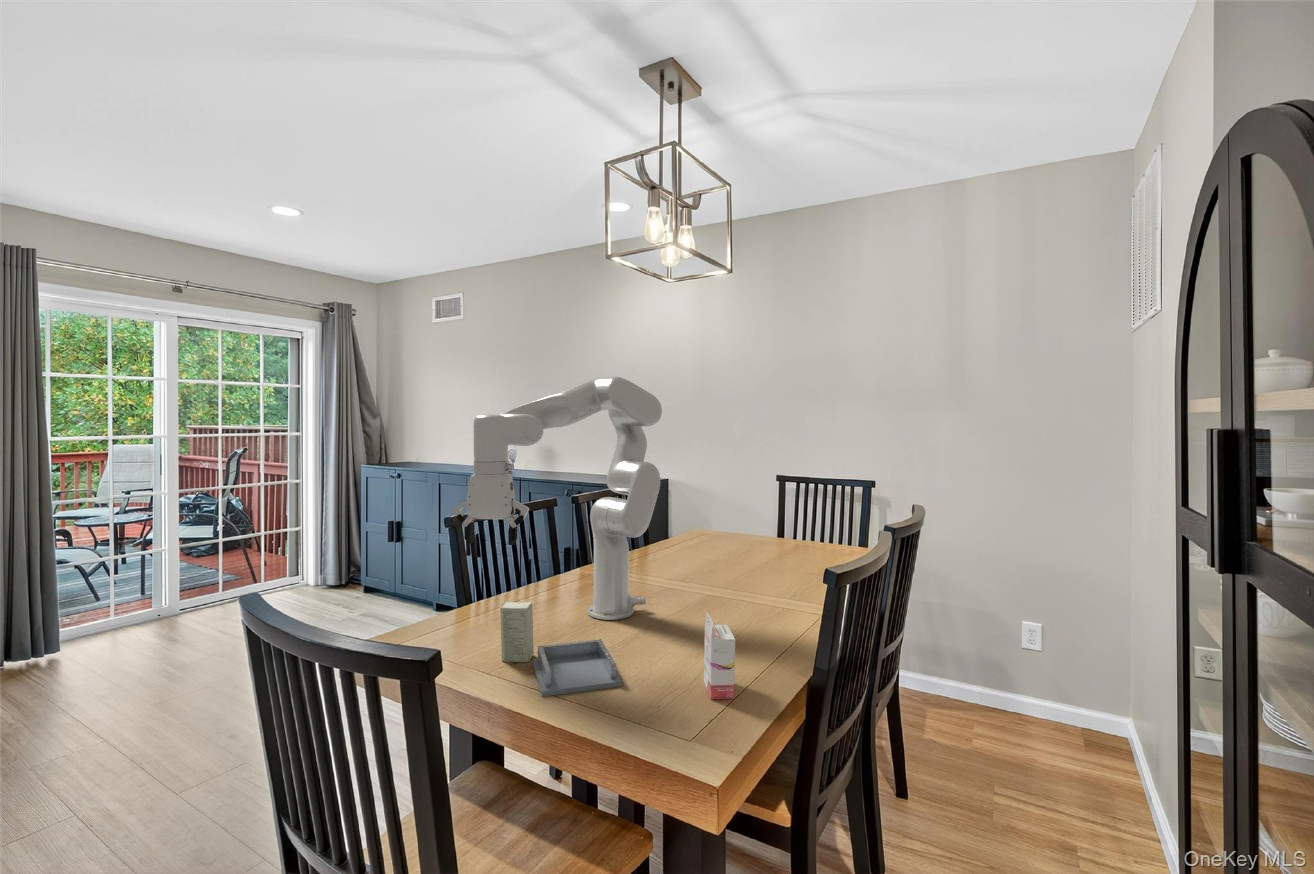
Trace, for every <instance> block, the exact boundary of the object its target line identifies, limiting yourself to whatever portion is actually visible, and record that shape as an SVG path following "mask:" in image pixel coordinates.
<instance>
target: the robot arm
mask: <svg viewBox="0 0 1314 874" xmlns="http://www.w3.org/2000/svg"><path fill="white" fill-rule="evenodd" d="M606 410H607V412H608V416H609V420H610V421H611V422H612V424H613V427H614V430H615V432H616V444H615V445H616V446H615V449H614V453H613V456H612V459H611V461H610V466H609V469H608V472H607V475H606V485H607V488H608V489H609V490H610V491H612V492H613V493H617V494H620V495H625V496H627V499H625V498H619V497H613V496H604V497H601V498H598V500H596V501H595V502H594V503H593V505H592V507H591V509H590V511H589V512H590V515H589V520H590V525H591V531H592V538H593V604H591V605H590V606H589V607H588V608H587V614H588V615H589V616H590V617H592V618H593V619H598V620H603V621H605V620H606V621H615V620H622V619H626V618H629V617H631V616H632V615H634V613H635V606H641V605H646V604H647V599H646V597H639V596H638V595H635V596H631V595H630V594H629V587H630V585H629V583H630V582H629V581H630V580H629V578H630V577H629V575H630V573H629V572H630V571H629V570H630V569H629V568H630V567H629V566H630V565H629V564H630V562H629V561H630V560H629V557H630V550H629V549H630V548H629V543H628V542H629V541H628V539H627V538H638V537H641V536H642V535H643V534H644V533H646V531H647V529H648V528H649V526H650V522H651V521H652V517H653V513H654V511H655V507H656V503H657V499H658V496H659V493H660V488H661V475H660V474H661V473H660V472H659V471H660V470H659V469H658V468H657V466H656V465H655V464H653V463H651V462H648V461H645V458H646V455H647V454H646V453H647V450H648V449H647V447H648V441H647V438H646V434H645V432H644V430H643V427H651V426H654V425H656V424H657V423H658V422H659V421H660V420H661V418H662V414H663V408H662V404H661V401H660V400H659V399H658V397H656V396H655V395H654V394H653V393H650V392H649V391H647V390H646V389H644V388H642V387H640V386H639V385H637V384H635V383H633V381H630V380H628V379H626V378H624V377H620V376H607V377H605V376H604V377H602V376H601V377H596V378H591V379H589V380H587V381H584V382H582V383H580V384H578V385H575V386H573V387H570V388H568V389H566V390H563V391H561V392H559V393H555V394H552V395H549V396H546V397H543V398H540V399H537V400H534V401H531V402H528V403H525V404H521V405H518V406H517V407H514V408H511V409H509V410H507V411H504V412H502V413H500V414H479V415H476V416H475V417H474V419H473V474H471V475H470V479H469V482H468V490H467V499H466V500H464V501H462V502H460V503H458V504H456V505H453V507H452V511H453V513H454V515H455V517H456V519H457V521H459V522H460V524H461V525H462V526H463V530H464V535H463V536H464V541H466V542H465V543H466V545H471V544H472V543H474V542H475V531H474V530H475V526H474V524H473V522H474V521H475V520H506V522H507V524H508V525H509V527H508V536H507V537H508V540H507V541H508V545H509V546H513V545H514V544H516V541H517V540H518V526H519V525H520V524H521V523H522V522H523V521H524V520H525V518H526V517H527V515H528V512H529V511H530V507H528V506H527V505H525V504H523V503H521V502H519V501H518V500H516V496H515V495H516V494H515V486H514V480H513V475H512V474H509V471H514V470H515V464H513V463H512V464H511V463H510V462H509V446H519V447H529V446H530V447H531V446H533V445H535V444H537V443H538V442H540V441H541V439H542V437H543V435H544V430H546V429H553V428H563V427H567V426H572V425H574V424H577V423H578V422H580V421H583V420H585V419H586V418H588V417H591V416H593V415H595V414H597V413H599V412H602V411H606ZM464 508H466V515H465V514H464V513H463V510H462V509H464ZM516 509H517V510H519V511H520V513H519V516H518V517H516V516H515V514H516Z"/></svg>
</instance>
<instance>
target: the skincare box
mask: <svg viewBox="0 0 1314 874" xmlns="http://www.w3.org/2000/svg"><path fill="white" fill-rule="evenodd" d="M499 608H500V636H501V637H500V642H501V643H500V645H501V662H513V663H514V662H518V663H528V662H529V661H530V660H531V659H532V657H533V656H534V619H533V617H534V616H533V612H534V611H533V601H506V602H505V603H503V604H502V605H501V606H500V607H499Z"/></svg>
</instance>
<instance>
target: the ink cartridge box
mask: <svg viewBox="0 0 1314 874" xmlns="http://www.w3.org/2000/svg"><path fill="white" fill-rule="evenodd" d="M704 622H705V623H704V654H703V655H704V657H703V659H704V660H703V664H704V665H703V682H704V685H705V687H706V691H707V693H708V696H709V697H710V699H711V700H734V699H735V688H736V687H735V686H736V685H735V681H736V680H735V677H736V676H735V675H736V674H735V673H736V672H735V671H736V666H735V665H736V663H735V662H736V638H735V636H734V634H733V632H732V631H731V629H730V626H729V625H728V624H714V623H713V620H712V618H711V616H710V614H709V611H706V613H705V621H704Z"/></svg>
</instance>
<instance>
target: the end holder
mask: <svg viewBox="0 0 1314 874" xmlns="http://www.w3.org/2000/svg"><path fill="white" fill-rule="evenodd" d="M532 666H533V670H534V673H535V677H536V680H537V684H538V689H539V691H540V695H541V697H550V696H556V695H557V696H559V695H566V694H573V693H579V692H587V691H594V690H602V689H603V690H604V689H611V688H617V687H623V680H622V678H621V677H620V674H619V673H618V671H617V664H616V662H615V660H614V659H613V657H612V656H611V654H610V652H609V650H608V648H607V647H606V645H605V644H604V641H603V640H602V639H590V640H583V641H581V640H580V641H573V642H572V641H571V642H565V643H564V642H563V643H556V644H555V643H554V644H545V645H537V658H533V659H532Z"/></svg>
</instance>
